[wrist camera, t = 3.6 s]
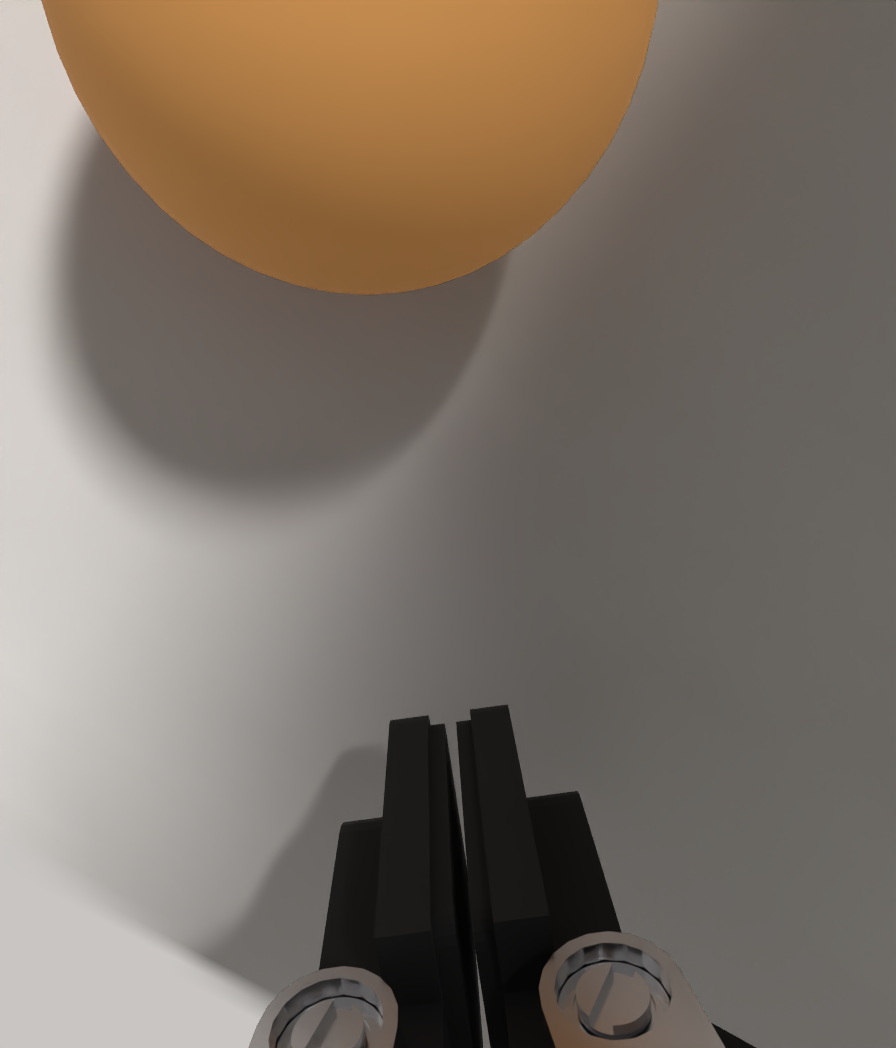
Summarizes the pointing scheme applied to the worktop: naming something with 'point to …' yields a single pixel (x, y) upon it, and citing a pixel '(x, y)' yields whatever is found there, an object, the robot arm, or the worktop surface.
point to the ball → (356, 122)
